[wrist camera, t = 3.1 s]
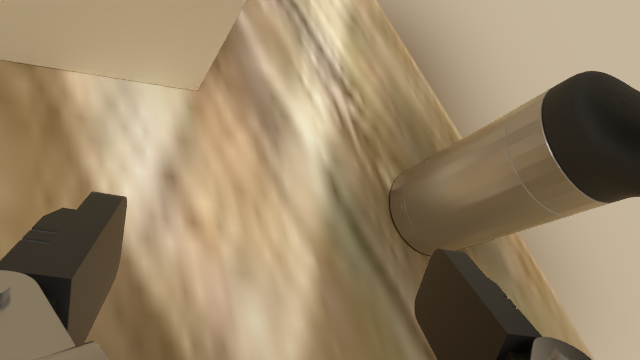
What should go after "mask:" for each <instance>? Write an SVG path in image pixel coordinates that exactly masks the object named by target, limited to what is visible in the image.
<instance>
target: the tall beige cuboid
mask: <svg viewBox="0 0 640 360" xmlns="http://www.w3.org/2000/svg"><path fill="white" fill-rule="evenodd" d="M246 1H247V0H0V60H5V61H12V62H18V63H24V64H31V65H37V66H43V67H49V68H56V69H62V70H68V71H75V72H81V73H87V74H94V75H100V76H106V77H112V78H119V79H125V80H131V81H138V82H144V83H150V84H157V85H163V86H169V87H175V88H182V89H188V90H194V91H198V89H199V87H200V85H201V84H202V82H203V80H204V78H205V76H206V74H207V73H208V71H209V69H210V67H211V65H212V63H213V61H214V60H215V58H216V56H217V54H218V52H219V50H220V49H221V47H222V45H223V43H224V41H225V39H226V38H227V36H228V34H229V32H230V30H231V28H232V26H233V25H234V23H235V21H236V19H237V17H238V15H239V14H240V12H241V10H242V8H243V6H244V4H245V3H246Z"/></svg>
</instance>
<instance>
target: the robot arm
mask: <svg viewBox="0 0 640 360" xmlns="http://www.w3.org/2000/svg"><path fill="white" fill-rule="evenodd" d="M630 197H640V92H639V91H637V90H635V89H634V88H632V87H630V86H629V85H627V84H626V83H624V82H622V81H621V80H619V79H617V78H615V77H613V76H611V75H608V74H606V73H602V72H597V71H587V72H583V73H580V74H577V75H574V76H573V77H570V78H569V79H567V80H565V81H563V82H562V83H560V84H558V85H556V86H554V87H553V88H551V89H549V90H547V91H546V92H544V93H542V94H540V95H539V96H537V97H535V98H533V99H532V100H530V101H528V102H526V103H525V104H523V105H521V106H519V107H518V108H516V109H514V110H513V111H511V112H509V113H507V114H506V115H504V116H502V117H500V118H499V119H497V120H495V121H493V122H491V123H490V124H488V125H486V126H485V127H483V128H481V129H479V130H477V131H476V132H474V133H472V134H470V135H469V136H467V137H465V138H463V139H461V140H460V141H458V142H456V143H454V144H453V145H451V146H449V147H447V148H446V149H444V150H442V151H440V152H439V153H437V154H435V155H433V156H432V157H430V158H428V159H426V160H424V161H423V162H421V163H419V164H417V165H415V166H414V167H412V168H410V169H408V170H407V171H405V172H403V173H402V174H400V175H399V176H398V177H397V178H396V180H395V182H394V183H393V185H392V189H391V192H390V210H391V214H392V218H393V221H394V223H395V225H396V227H397V229H398V231H399V232H400V234H401V236H402V237H403V238H404V239H405V241H406V242H407V243H408V244H409V245H410V246H412V247H413V248H414V249H416V250H417V251H419V252H421V253H423V254H426V255H430V256H431V258H430V260H429V263H428V266H427V268H426V271H425V274H424V277H423V279H422V282H421V285H420V287H419V290H418V293H417V296H416V299H415V316H416V319H417V321H418V323H419V325H420V327H421V329H422V331H423V333H424V335H425V337H426V339H427V341H428V342H429V344H430V346H431V348H432V350H433V352H434V354H435V356H436V358H437V360H591V359H590V358H589V357H588V356H587V355H585V354H584V353H583V352H581V351H580V350H578V349H577V348H575V347H573V346H571V345H569V344H567V343H565V342H563V341H560V340H557V339H554V338H550V337H542V336H541V335H540V333H539V332H538V331H537V330H536V329H535V328H534V327H533V325H532V324H531V323H530V322H529V321H528V320H527V319H526V317H525V316H524V315H523V314H522V313H521V312H520V311H519V309H516V306H515V305H514V304H513V302H512V301H511V300H510V299H507V296H506V294H505V293H504V292H503V291H502V290H501V289H500V288H499V286H498V285H497V284H496V283H494V282H493V281H492V280H490V279H489V278H487V277H486V276H485V275H484V274H483V273H482V271H481V270H480V269H479V268H478V267H477V266H476V264H475V263H474V262H473V261H472V260H471V259H470V257H469V256H468V255H467V254H466V253H464V252H459V251H456V250H459V249H463V248H466V247H470V246H473V245H476V244H480V243H483V242H486V241H490V240H493V239H496V238H499V237H503V236H506V235H509V234H512V233H516V232H519V231H522V230H525V229H529V228H532V227H535V226H538V225H542V224H545V223H548V222H551V221H555V220H558V219H561V218H565V217H567V216H571V215H574V214H577V213H580V212H583V211H587V210H590V209H593V208H596V207H600V206H603V205H606V204H609V203H612V202H616V201H619V200H623V199H626V198H630ZM126 208H127V199H126V197H124V196H117V195H111V194H105V193H99V192H91V193H90V194H89V196H88V197H87V198H86V199H85V200H84V202H83V203H82V204H81V205H80V206H79V208H78V209H77V210H74V209H67V208H61V209H59V210H57V211H54V212H52V213H50V214H47V215H45V216H43V217H42V218H41V219H40V220H39V221H38V222H37V223H36V224H35V225H34V226H33V227H32V230H30V231H29V232H28V233H27V234H26V235H25V236H24V237H23V238H22V241H21V240H20V241H19V242H18V243H17V244H16V245H15V246H14V247H13V248H12V249H11V250H10V251H9V252H8V253H7V255H6V256H5V257H4V258H3V259H2V260H1V261H0V360H109V359H108V357H107V356H106V354H105V353H104V351H103V350H102V349H101V347H100V346H99V345H98V344H97V343H95V342H93V341H91V342H87V343H84V342H85V340H86V338H87V336H88V334H89V332H90V330H91V328H92V326H93V324H94V321H95V319H96V317H97V315H98V313H99V311H100V309H101V307H102V305H103V303H104V301H105V299H106V297H107V295H108V293H109V290H110V288H111V286H112V284H113V282H114V280H115V277H116V274H117V271H118V267H119V262H120V257H121V249H122V241H123V233H124V225H125V216H126Z"/></svg>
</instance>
